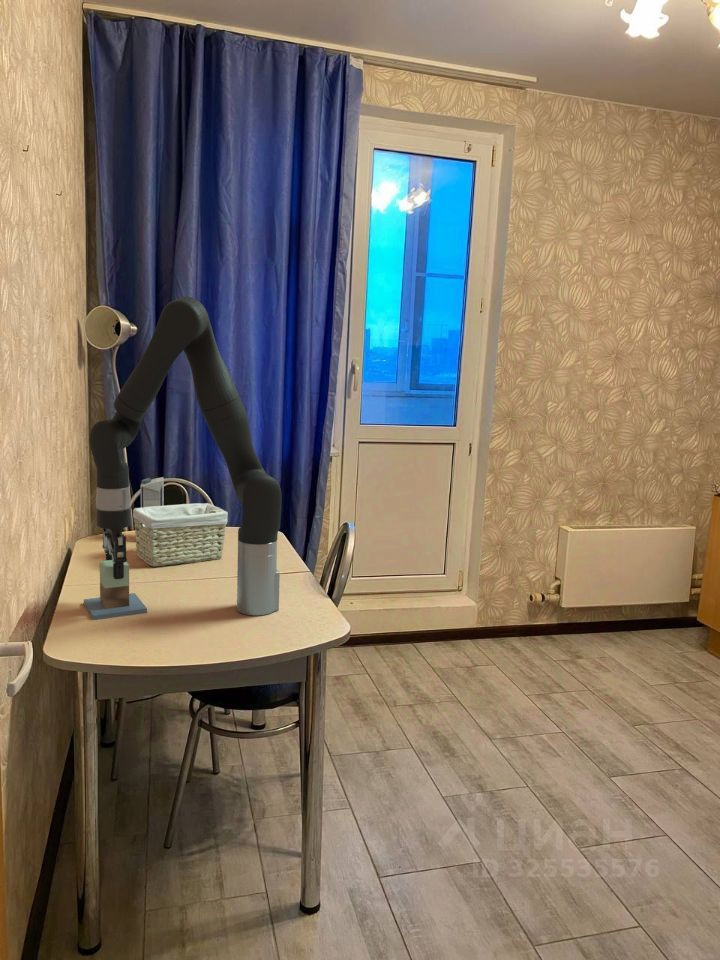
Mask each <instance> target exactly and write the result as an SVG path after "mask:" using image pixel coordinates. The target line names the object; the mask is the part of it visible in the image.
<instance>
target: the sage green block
mask: <svg viewBox="0 0 720 960" xmlns="http://www.w3.org/2000/svg"><path fill="white" fill-rule="evenodd" d="M100 582H101V584H102V585H103V587H104V588H113V587H121V586H129V587H130V564H129V563H128V562H127V561H126V562H125V563H124V578H123V579H114V577H113V562H112V560H106V559H105V560H99V583H100Z"/></svg>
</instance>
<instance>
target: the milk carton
mask: <svg viewBox="0 0 720 960" xmlns="http://www.w3.org/2000/svg"><path fill="white" fill-rule="evenodd" d="M164 478H165V477H164V476H162V477H157V478H156V477H155V478H153V479H152V478H151V477H148V478H144V479H142V480H141V484H140V508H143V507H151V506H165V505H164V504H165V502H164V500H165V499H164V497H165V496H164V491H165V490H164V484H165V483H164V482H165V481H164Z"/></svg>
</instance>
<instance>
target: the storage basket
mask: <svg viewBox="0 0 720 960" xmlns="http://www.w3.org/2000/svg"><path fill="white" fill-rule="evenodd" d="M132 512H133V513H132V517H133V522H134V531H135V547H136V556H137V557H138V558H139V559H141V560H142V561H143V562H144V563H146V564H147V565H149V566H150V567H154V568H156V567H163V566H171V565H179V564H185V563H186V564H188V563H193V564H194V563H199V562H204V561H213V560H217V559H218V560H219V559H222V558H223V550H224V544H225V535H226V527H227V524H228V515H229V514H228V511H226V510H224V509H223V508H221V507H219V506H215V505H213V504H211V503H208V502H206V503H182V504H167V505H164V506H151V507H143V508H141V507H135V508H134V509H133V510H132Z"/></svg>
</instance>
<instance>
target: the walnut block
mask: <svg viewBox="0 0 720 960" xmlns="http://www.w3.org/2000/svg"><path fill="white" fill-rule="evenodd" d="M129 594H130V585H129V586H121V587H113V588H104V587H103V585H102V584H101V582H100V581H99V597H100V602H101V604H102V605H103V607H104V608H105V609H110V608H118V607H125V606H129Z"/></svg>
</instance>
